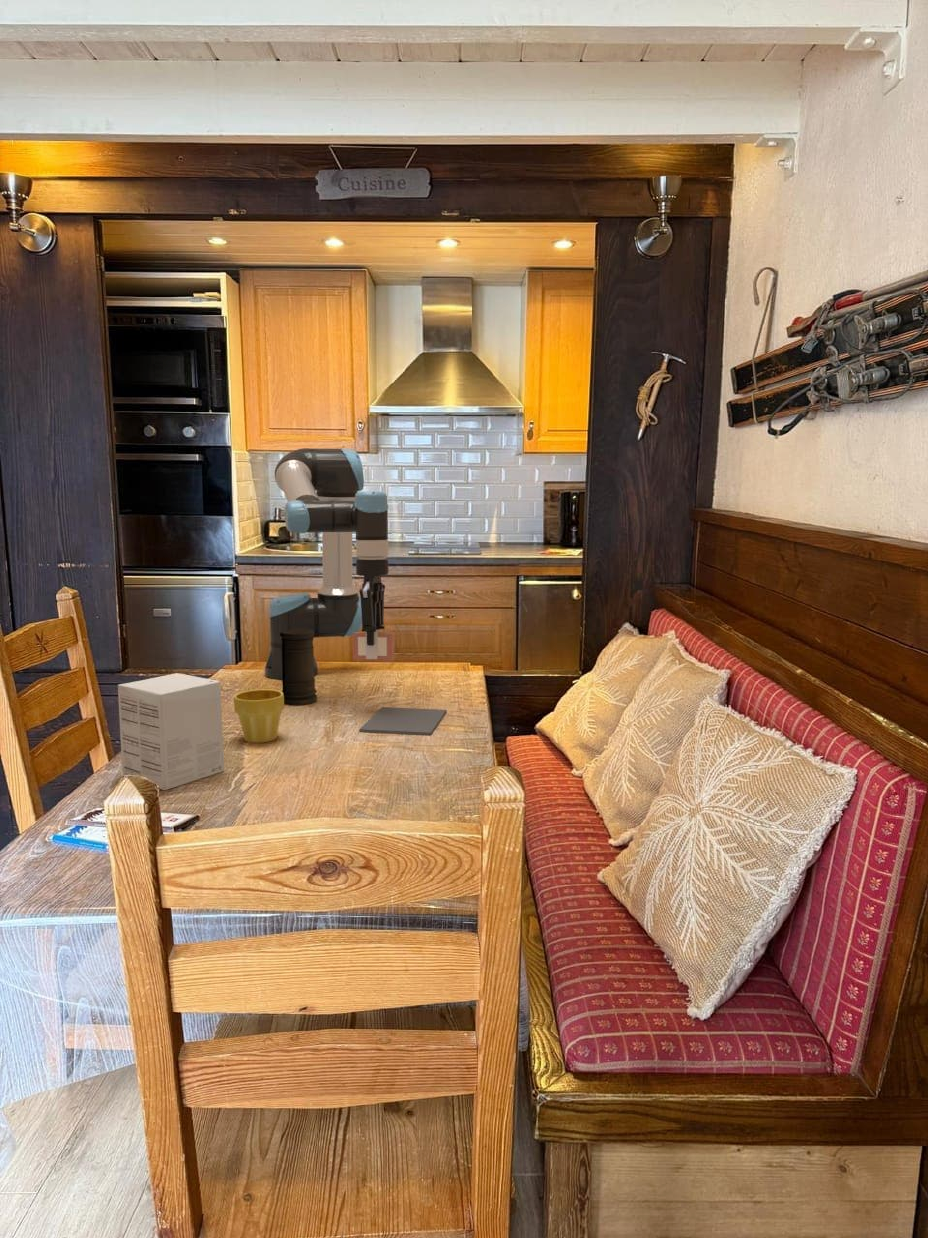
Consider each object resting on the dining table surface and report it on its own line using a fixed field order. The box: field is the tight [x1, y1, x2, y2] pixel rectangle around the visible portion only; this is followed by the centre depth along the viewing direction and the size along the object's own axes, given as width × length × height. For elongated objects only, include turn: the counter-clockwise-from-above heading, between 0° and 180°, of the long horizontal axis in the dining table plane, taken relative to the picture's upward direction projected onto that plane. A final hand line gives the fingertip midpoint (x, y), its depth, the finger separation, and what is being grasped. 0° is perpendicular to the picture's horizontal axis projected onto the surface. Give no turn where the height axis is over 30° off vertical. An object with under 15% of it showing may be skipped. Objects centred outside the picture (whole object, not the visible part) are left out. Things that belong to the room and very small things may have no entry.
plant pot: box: [233, 688, 285, 744], centre depth 178 cm, size 10×10×10 cm
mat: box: [359, 706, 448, 736], centre depth 193 cm, size 20×16×1 cm
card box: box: [352, 631, 396, 662], centre depth 197 cm, size 2×10×6 cm, turn 80°
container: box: [280, 629, 318, 706], centre depth 210 cm, size 9×9×18 cm
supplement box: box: [117, 672, 225, 791], centre depth 154 cm, size 13×13×18 cm
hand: (373, 657), depth 198 cm, fingers closed on card box, 2 cm apart
